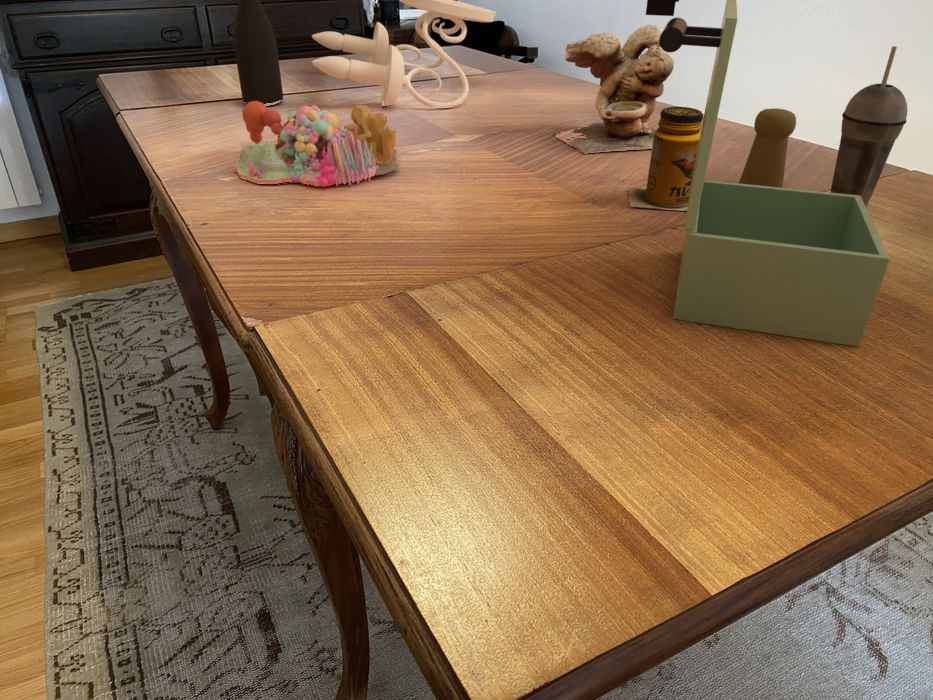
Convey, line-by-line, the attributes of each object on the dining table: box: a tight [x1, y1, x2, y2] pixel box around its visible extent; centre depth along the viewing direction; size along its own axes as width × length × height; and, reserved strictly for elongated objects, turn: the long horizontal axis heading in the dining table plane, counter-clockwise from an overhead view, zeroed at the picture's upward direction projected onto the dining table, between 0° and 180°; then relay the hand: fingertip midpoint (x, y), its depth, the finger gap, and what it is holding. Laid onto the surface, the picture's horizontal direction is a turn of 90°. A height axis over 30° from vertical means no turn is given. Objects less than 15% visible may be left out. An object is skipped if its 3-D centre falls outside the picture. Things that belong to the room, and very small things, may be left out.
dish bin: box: [672, 179, 890, 348], centre depth 70 cm, size 16×16×9 cm
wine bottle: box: [233, 0, 284, 104], centre depth 134 cm, size 8×8×30 cm
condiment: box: [627, 106, 704, 212], centre depth 93 cm, size 7×8×12 cm
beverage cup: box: [829, 45, 908, 207], centre depth 89 cm, size 7×7×20 cm
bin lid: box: [659, 0, 738, 230], centre depth 66 cm, size 17×16×6 cm
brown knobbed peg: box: [738, 107, 797, 188], centre depth 97 cm, size 6×6×11 cm
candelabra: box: [311, 0, 497, 107], centre depth 150 cm, size 20×45×37 cm
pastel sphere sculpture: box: [233, 101, 400, 188], centre depth 105 cm, size 25×24×9 cm
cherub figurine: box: [564, 24, 675, 154], centre depth 117 cm, size 18×18×18 cm
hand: (663, 8), depth 76 cm, fingers open, 13 cm apart
